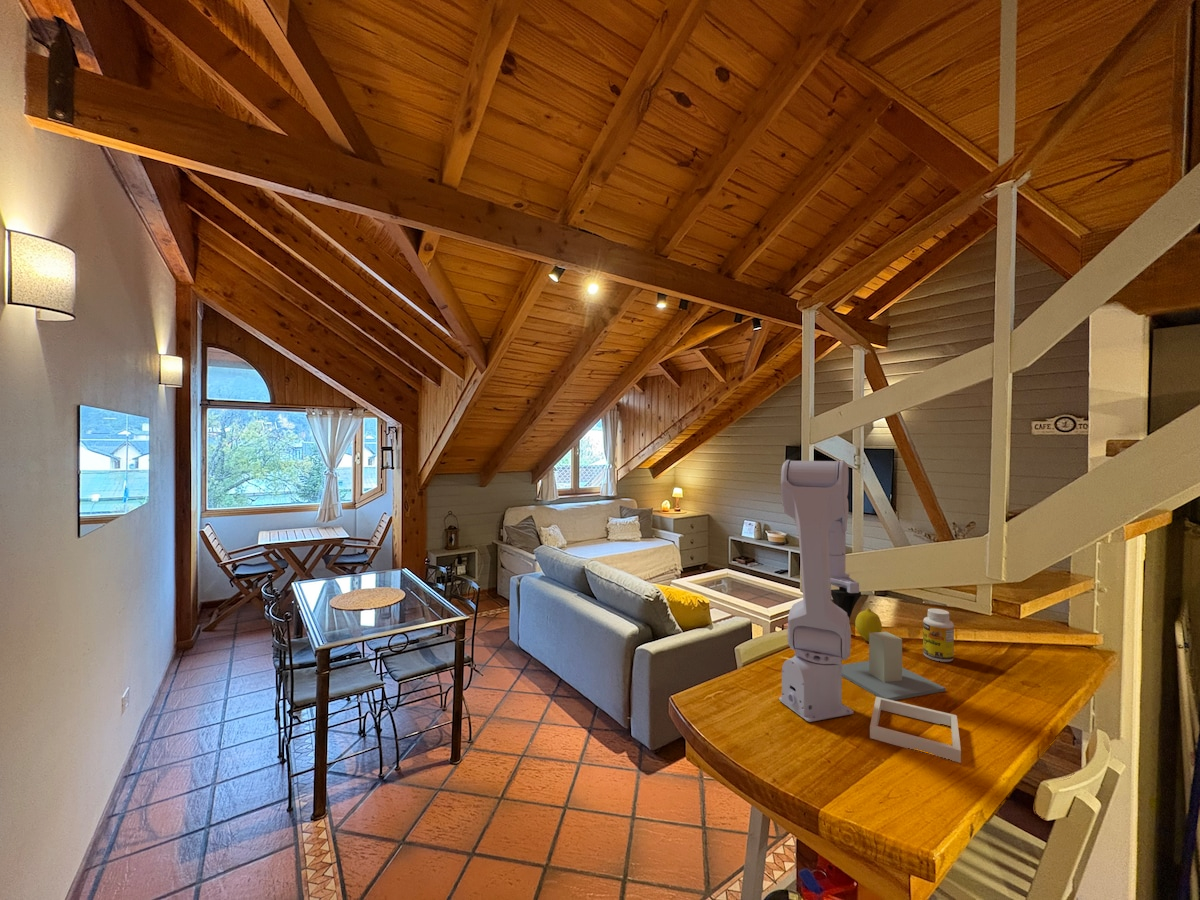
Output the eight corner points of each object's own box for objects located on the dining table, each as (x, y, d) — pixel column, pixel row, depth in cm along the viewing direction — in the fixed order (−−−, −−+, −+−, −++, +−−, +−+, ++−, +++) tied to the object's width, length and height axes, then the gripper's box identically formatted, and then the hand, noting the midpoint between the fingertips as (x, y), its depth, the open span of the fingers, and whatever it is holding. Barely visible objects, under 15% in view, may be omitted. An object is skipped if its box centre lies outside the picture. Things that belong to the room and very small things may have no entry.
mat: (886, 701, 91) (886, 698, 91) (829, 669, 104) (829, 666, 104) (945, 691, 95) (945, 687, 95) (883, 661, 108) (883, 658, 108)
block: (902, 680, 98) (902, 638, 98) (884, 682, 97) (884, 640, 97) (886, 671, 102) (886, 631, 102) (869, 673, 101) (869, 633, 101)
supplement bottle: (916, 654, 112) (917, 608, 112) (935, 651, 114) (936, 606, 114) (940, 664, 107) (940, 616, 107) (960, 661, 108) (960, 613, 108)
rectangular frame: (960, 763, 73) (960, 750, 73) (869, 738, 79) (869, 726, 79) (956, 726, 83) (956, 715, 83) (876, 706, 89) (876, 696, 89)
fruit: (875, 637, 122) (875, 604, 122) (885, 646, 116) (886, 611, 116) (851, 636, 123) (851, 603, 123) (860, 645, 117) (860, 610, 117)
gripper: (872, 559, 98) (872, 629, 98) (824, 545, 112) (824, 606, 112) (840, 560, 96) (840, 632, 96) (796, 546, 110) (795, 608, 110)
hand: (829, 618), depth 104 cm, fingers open, 7 cm apart
